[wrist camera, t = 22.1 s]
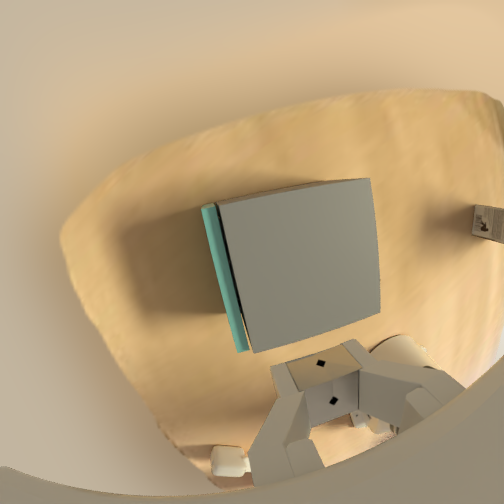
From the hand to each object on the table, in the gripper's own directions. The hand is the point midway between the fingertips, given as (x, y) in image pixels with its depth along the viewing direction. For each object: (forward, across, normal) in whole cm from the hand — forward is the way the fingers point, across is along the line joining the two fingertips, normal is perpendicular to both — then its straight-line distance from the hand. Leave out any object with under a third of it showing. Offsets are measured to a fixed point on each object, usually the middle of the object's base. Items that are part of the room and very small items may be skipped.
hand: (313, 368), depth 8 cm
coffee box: (+26, -49, +7) cm, 56 cm away
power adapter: (+26, +10, +38) cm, 47 cm away
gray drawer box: (+25, -5, +2) cm, 26 cm away
